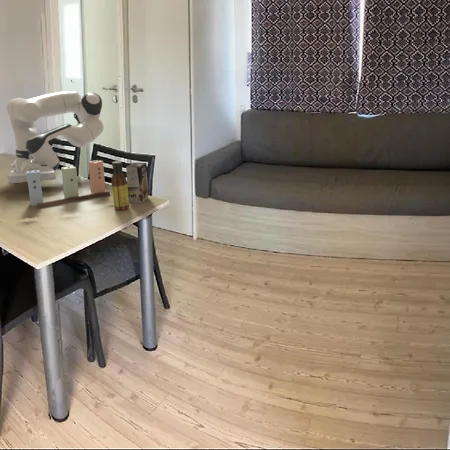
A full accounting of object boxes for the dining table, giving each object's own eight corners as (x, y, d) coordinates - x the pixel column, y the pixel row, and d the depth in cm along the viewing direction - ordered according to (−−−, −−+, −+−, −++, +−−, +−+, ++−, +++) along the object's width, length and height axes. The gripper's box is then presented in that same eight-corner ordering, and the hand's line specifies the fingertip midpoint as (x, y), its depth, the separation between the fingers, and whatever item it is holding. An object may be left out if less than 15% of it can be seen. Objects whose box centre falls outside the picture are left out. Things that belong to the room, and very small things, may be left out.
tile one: (64, 199, 239) (61, 166, 235) (75, 197, 242) (72, 165, 237) (68, 201, 236) (64, 168, 231) (79, 199, 239) (76, 167, 234)
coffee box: (141, 204, 236) (139, 167, 230) (127, 203, 237) (125, 166, 232) (148, 198, 244) (147, 162, 239) (135, 197, 245) (133, 161, 240)
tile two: (30, 203, 233) (26, 170, 229) (42, 202, 235) (38, 169, 230) (30, 206, 230) (26, 172, 225) (43, 204, 231) (39, 171, 227)
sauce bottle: (131, 206, 233) (128, 160, 226) (127, 211, 227) (124, 163, 220) (115, 206, 233) (112, 160, 227) (111, 210, 227) (108, 163, 221)
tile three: (90, 192, 249) (88, 161, 245) (99, 189, 253) (97, 159, 248) (96, 193, 247) (94, 162, 242) (105, 191, 250) (103, 160, 246)
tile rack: (24, 203, 237) (24, 197, 236) (101, 190, 256) (100, 184, 255) (35, 211, 226) (34, 204, 225) (113, 197, 245) (113, 191, 244)
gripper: (6, 168, 251) (6, 175, 238) (53, 164, 257) (55, 171, 245) (8, 181, 253) (8, 189, 240) (54, 178, 259) (56, 185, 247)
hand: (32, 180), depth 243 cm, fingers closed
